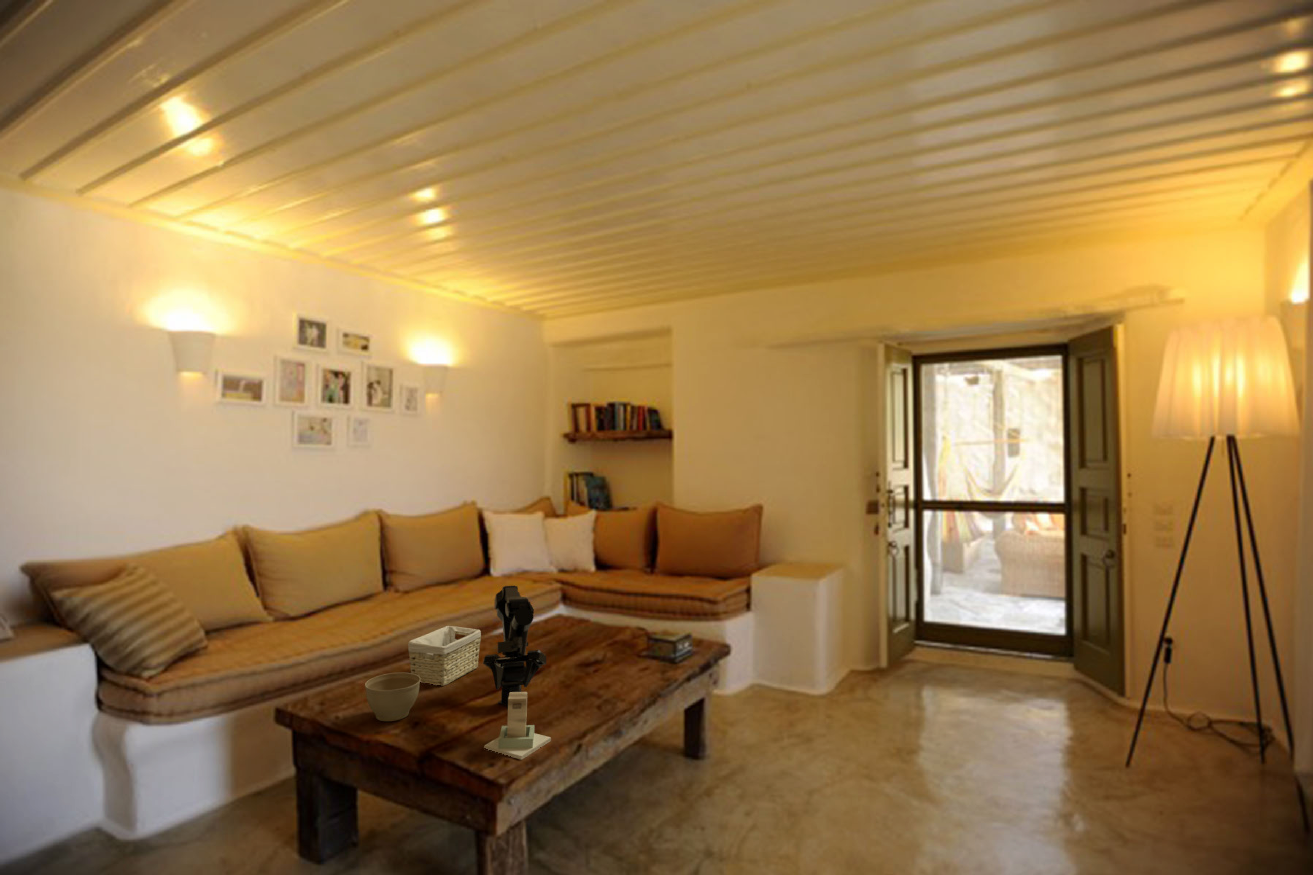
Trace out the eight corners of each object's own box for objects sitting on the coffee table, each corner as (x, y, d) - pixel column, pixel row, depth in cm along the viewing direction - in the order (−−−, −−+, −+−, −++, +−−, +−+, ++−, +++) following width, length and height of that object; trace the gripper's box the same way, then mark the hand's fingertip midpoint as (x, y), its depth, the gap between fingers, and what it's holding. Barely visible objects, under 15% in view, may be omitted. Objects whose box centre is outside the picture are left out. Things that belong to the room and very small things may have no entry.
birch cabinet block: (508, 737, 195) (509, 692, 195) (525, 736, 196) (527, 691, 196) (506, 746, 189) (508, 699, 190) (524, 745, 190) (526, 699, 190)
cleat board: (513, 730, 202) (513, 719, 202) (550, 740, 196) (551, 728, 196) (482, 748, 190) (483, 736, 190) (521, 759, 184) (521, 746, 184)
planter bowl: (402, 701, 222) (403, 668, 222) (429, 715, 212) (430, 680, 212) (354, 716, 210) (355, 681, 210) (380, 731, 199) (382, 694, 200)
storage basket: (442, 688, 235) (444, 646, 235) (404, 682, 240) (405, 640, 241) (482, 668, 258) (483, 629, 258) (446, 662, 263) (447, 624, 263)
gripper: (478, 630, 207) (469, 682, 198) (534, 624, 203) (528, 677, 194) (495, 643, 216) (487, 693, 207) (549, 637, 212) (544, 688, 202)
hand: (511, 688), depth 202 cm, fingers open, 9 cm apart
